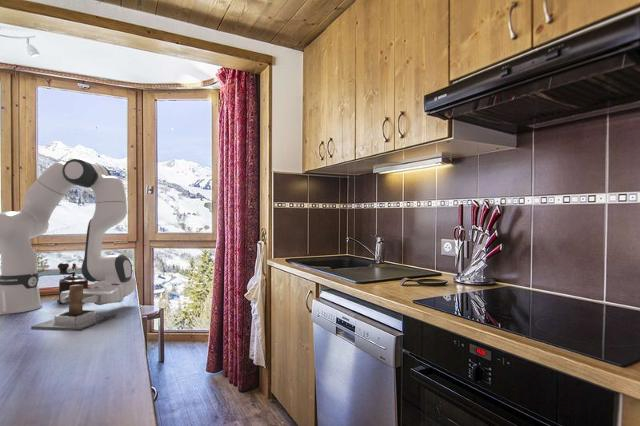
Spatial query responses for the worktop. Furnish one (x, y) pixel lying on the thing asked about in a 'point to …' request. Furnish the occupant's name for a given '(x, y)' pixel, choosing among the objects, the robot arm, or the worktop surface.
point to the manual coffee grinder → (69, 279)
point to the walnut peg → (75, 300)
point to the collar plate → (73, 321)
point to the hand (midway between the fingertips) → (73, 300)
